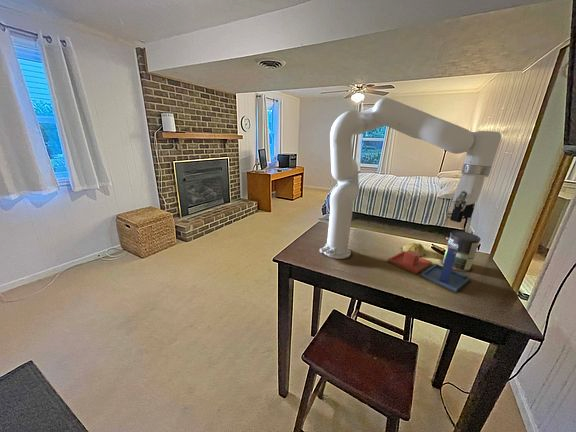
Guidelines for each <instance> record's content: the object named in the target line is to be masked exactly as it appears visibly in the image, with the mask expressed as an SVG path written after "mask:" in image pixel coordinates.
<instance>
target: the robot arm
mask: <svg viewBox="0 0 576 432" xmlns="http://www.w3.org/2000/svg"><path fill="white" fill-rule="evenodd" d="M384 126H385V127H388V128H390V129H393V130H395V131H397V132H399V133H402V134H404V135H406V136H408V137H410V138H413V139H418V140H421V141H423V142H426V143H429V144H431V145H433V146H435V147H438V148H439V149H442V150H444V151H446V152H448V153H451V154H455V155H456V154H457V155H458V154H459V155H461V154H464V153H466V154H465V159H464V162H463V165H462V168H461V172H460V174H461V177H460V178H459V181H458V184H457V186H456V189H455V192H454V195H453V198H452V202H453V203H454V204H453V205H454V206H453V207H452V212H451V215H450V218H449V220H450V221H452V222H456V223H459V224H460V223H462V222H463V221H462V220H463V218H464V217H465V218H468V219H470V218H472V216H473V213H474V210H475V207H476V203H477V202H478V200H479V198H480V194H481V191H482V188H483V185H484V182H485V178H489V176H490V174H491V170H492V167H493V164H494V161H495V158H496V155H497V153H498V150H499V146H500V143H501V140H502V133H501V132H499V131H493V130H491V131H489V130H479V131H478V130H477V131H471V130H469V129H468V128H465V127H462V126H460V125H458V124H455V123H453V122H451V121H448V120H445V119H442V118H440V117H437V116H434V115H433V114H430V113H428V112H426V111H423V110H420V109H418V108H415V107H412V106H410V105H408V104H405V103H402V102H400V101H398V100H395V99H393V98H389V97H383V98H380V99H378V100H377V101H376V102H375V103H374V105H373V106H372V107H370V108H367V109H364V110H361V111H359V110H356V109H355V110H354V109H351V110H347V111H344V112H343V113H341V114H340V115H339V116H338V117H336V119H335V120H334V122H333V123H332V125H331V127H330V130H329V131H330V132H329V148H330V172H331V176H332V178H333V179H334V180H335V181H337V185H336V186H335V187H334V188H333V189H332V190H331V193H330V196H329V217H328V230H327V238H326V243H325V245H324V246H323V247H321V248H319V250H318V251H319V253H320V254H324V255H325V256H327V257H329V258H332V259H336V260H340V259H341V260H343V259H347V258H349V257H350V256H351V254H352V252H351V249H349V243H350V235H351V227H352V219H353V209H354V207H353V206H354V202H355V200H356V199H357V198H358V196H359V191H360V188H359V187H360V185H359V183H360V182H359V165H358V162H357V161H356V160H355V158H353V145H352V136H353V135H355V136H356V135H362V134H364V133H367V132H370V131H373V130H376V129H379V128H383V127H384Z"/></svg>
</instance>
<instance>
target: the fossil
mask: <svg viewBox="0 0 576 432" xmlns="http://www.w3.org/2000/svg"><path fill="white" fill-rule="evenodd" d="M408 250H412V251H414V252H417V253H419V254H420V256H419V257H423V256H425V255H426V253H427V251H426V249H425V248H424V246H423V245H422V243H416V242H412V243H408V244H405V245H403V246H402V252H403V251H405V252H406V251H408Z"/></svg>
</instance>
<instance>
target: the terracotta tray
mask: <svg viewBox="0 0 576 432" xmlns="http://www.w3.org/2000/svg"><path fill="white" fill-rule="evenodd" d="M404 252H405V251H403V250H402V251H401V252H399V253H397V254H395V255H393V256H391V257H389V258H388V259H387V261H388V262H390V263H392V264H394V265H396V266H398V267H401V268H403V269H405V270H408V271H410V272H412V273H414V274H418V273H421V271H423V270H425V269H426V268H427V267H429V266H430V265H432V261H430V260H428V259H426V258H423V257H421V256H419V260H418V263H417V264H415V265H414V266H411V265H409V264H407V263H404V262H402V261H403V257H404Z"/></svg>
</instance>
